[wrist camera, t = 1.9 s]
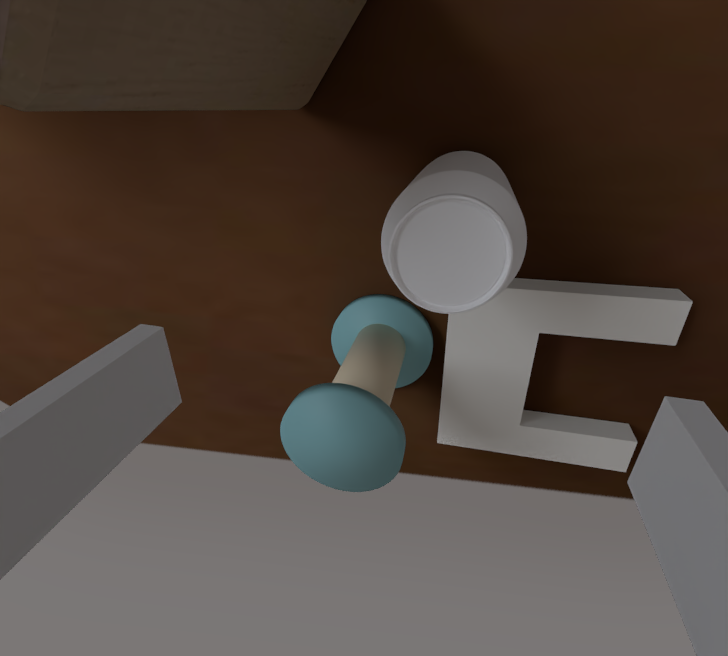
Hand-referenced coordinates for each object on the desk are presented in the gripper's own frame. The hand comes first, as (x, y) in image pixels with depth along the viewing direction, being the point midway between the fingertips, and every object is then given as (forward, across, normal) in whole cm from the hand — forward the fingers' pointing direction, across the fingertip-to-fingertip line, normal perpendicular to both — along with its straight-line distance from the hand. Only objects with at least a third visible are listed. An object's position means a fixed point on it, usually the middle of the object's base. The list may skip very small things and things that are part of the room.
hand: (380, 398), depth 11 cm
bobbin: (+19, -4, -9) cm, 22 cm away
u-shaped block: (+19, +8, -10) cm, 23 cm away
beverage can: (+19, +1, +2) cm, 20 cm away
